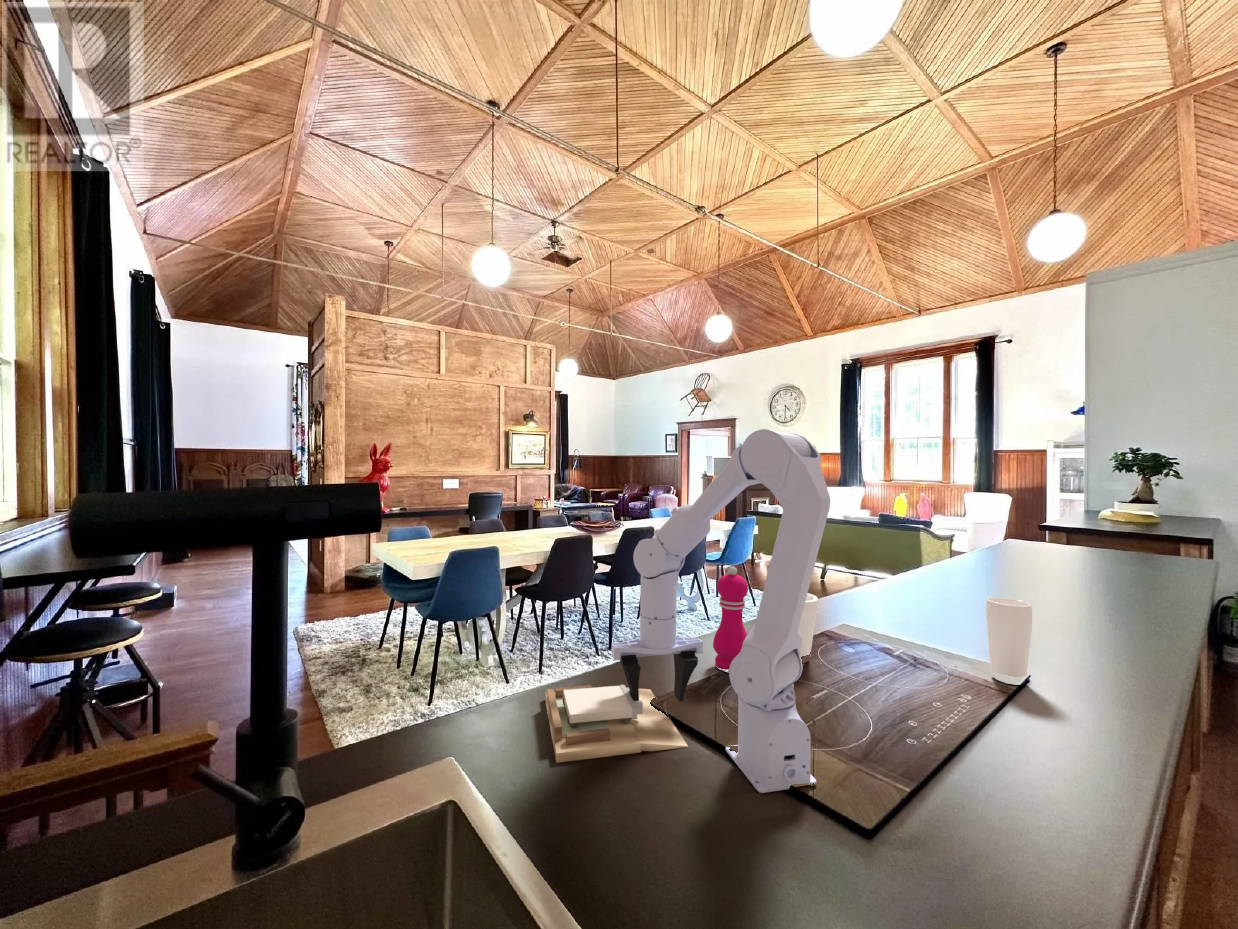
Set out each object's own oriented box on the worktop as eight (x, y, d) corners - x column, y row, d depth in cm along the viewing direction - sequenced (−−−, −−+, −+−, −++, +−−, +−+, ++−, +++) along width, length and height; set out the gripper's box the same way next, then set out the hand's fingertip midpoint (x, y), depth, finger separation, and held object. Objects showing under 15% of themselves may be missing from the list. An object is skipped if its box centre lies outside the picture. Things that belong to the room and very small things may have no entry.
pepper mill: (751, 677, 92) (752, 571, 92) (712, 673, 93) (713, 569, 93) (749, 662, 99) (750, 564, 99) (712, 659, 100) (714, 562, 100)
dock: (688, 753, 68) (688, 724, 68) (556, 770, 64) (556, 739, 64) (650, 695, 86) (650, 672, 86) (544, 705, 81) (545, 681, 81)
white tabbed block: (645, 723, 72) (645, 707, 72) (568, 731, 69) (568, 714, 69) (631, 699, 80) (631, 684, 80) (561, 704, 77) (562, 689, 77)
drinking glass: (1041, 689, 88) (1042, 607, 88) (1003, 688, 88) (1004, 606, 89) (1012, 674, 95) (1012, 597, 95) (977, 673, 95) (977, 596, 95)
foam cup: (809, 671, 95) (809, 604, 95) (762, 659, 100) (763, 596, 100) (822, 657, 102) (823, 595, 102) (778, 647, 108) (779, 588, 108)
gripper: (691, 605, 82) (690, 685, 82) (608, 609, 79) (606, 693, 79) (708, 617, 75) (707, 705, 75) (617, 623, 72) (616, 715, 72)
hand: (656, 701), depth 77 cm, fingers open, 7 cm apart
